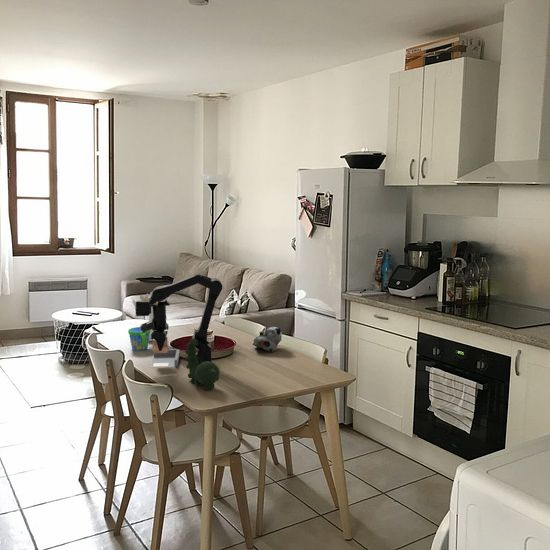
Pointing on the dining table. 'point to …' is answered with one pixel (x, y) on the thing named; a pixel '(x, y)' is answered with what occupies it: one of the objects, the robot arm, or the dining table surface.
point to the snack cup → (139, 339)
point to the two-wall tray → (166, 359)
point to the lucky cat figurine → (269, 339)
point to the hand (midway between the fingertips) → (160, 349)
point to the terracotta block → (164, 349)
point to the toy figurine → (200, 368)
